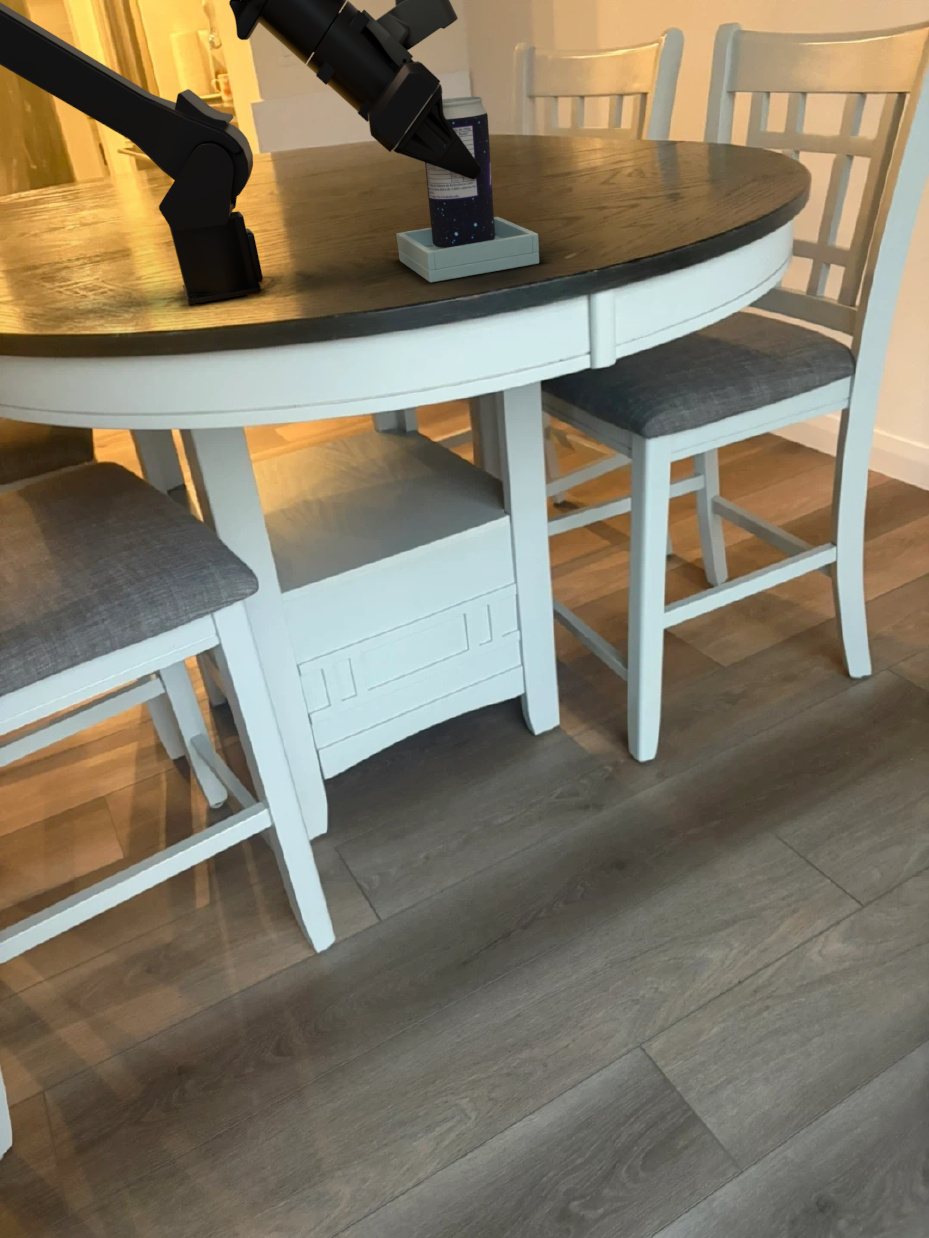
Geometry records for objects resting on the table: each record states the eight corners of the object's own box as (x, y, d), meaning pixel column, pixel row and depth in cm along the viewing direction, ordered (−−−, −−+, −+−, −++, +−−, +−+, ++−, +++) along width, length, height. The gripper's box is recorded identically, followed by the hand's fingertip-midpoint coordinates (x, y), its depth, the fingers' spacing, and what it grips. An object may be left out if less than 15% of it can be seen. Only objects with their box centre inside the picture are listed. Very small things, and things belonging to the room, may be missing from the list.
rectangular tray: (430, 283, 78) (426, 252, 77) (399, 261, 87) (396, 233, 85) (539, 263, 81) (538, 233, 79) (499, 244, 89) (497, 216, 87)
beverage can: (506, 250, 82) (498, 97, 75) (449, 261, 80) (436, 105, 73) (478, 240, 86) (468, 95, 79) (423, 251, 84) (408, 103, 78)
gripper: (394, -73, 62) (557, 95, 69) (383, -54, 78) (517, 82, 84) (300, 73, 66) (463, 218, 73) (308, 63, 82) (442, 184, 88)
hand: (474, 170), depth 79 cm, fingers closed on beverage can, 6 cm apart
